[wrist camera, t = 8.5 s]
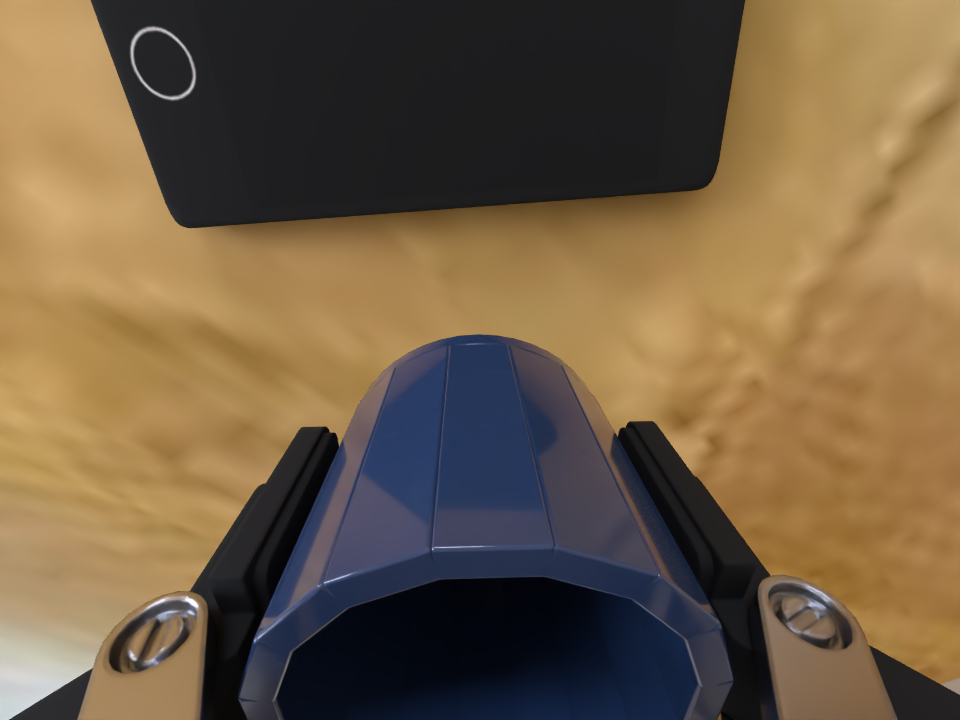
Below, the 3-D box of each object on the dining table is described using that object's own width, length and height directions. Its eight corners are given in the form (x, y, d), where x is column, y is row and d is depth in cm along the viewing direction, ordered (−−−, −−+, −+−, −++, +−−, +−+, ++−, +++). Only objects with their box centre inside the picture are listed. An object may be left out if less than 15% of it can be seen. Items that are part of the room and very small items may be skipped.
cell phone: (64, -131, 11) (29, -157, 10) (755, -178, 11) (781, -208, 10) (190, 225, 14) (173, 229, 14) (701, 187, 15) (716, 189, 14)
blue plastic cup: (368, 538, 12) (293, 827, 7) (336, 335, 10) (168, 556, 4) (586, 533, 13) (676, 811, 7) (617, 331, 10) (804, 540, 4)
